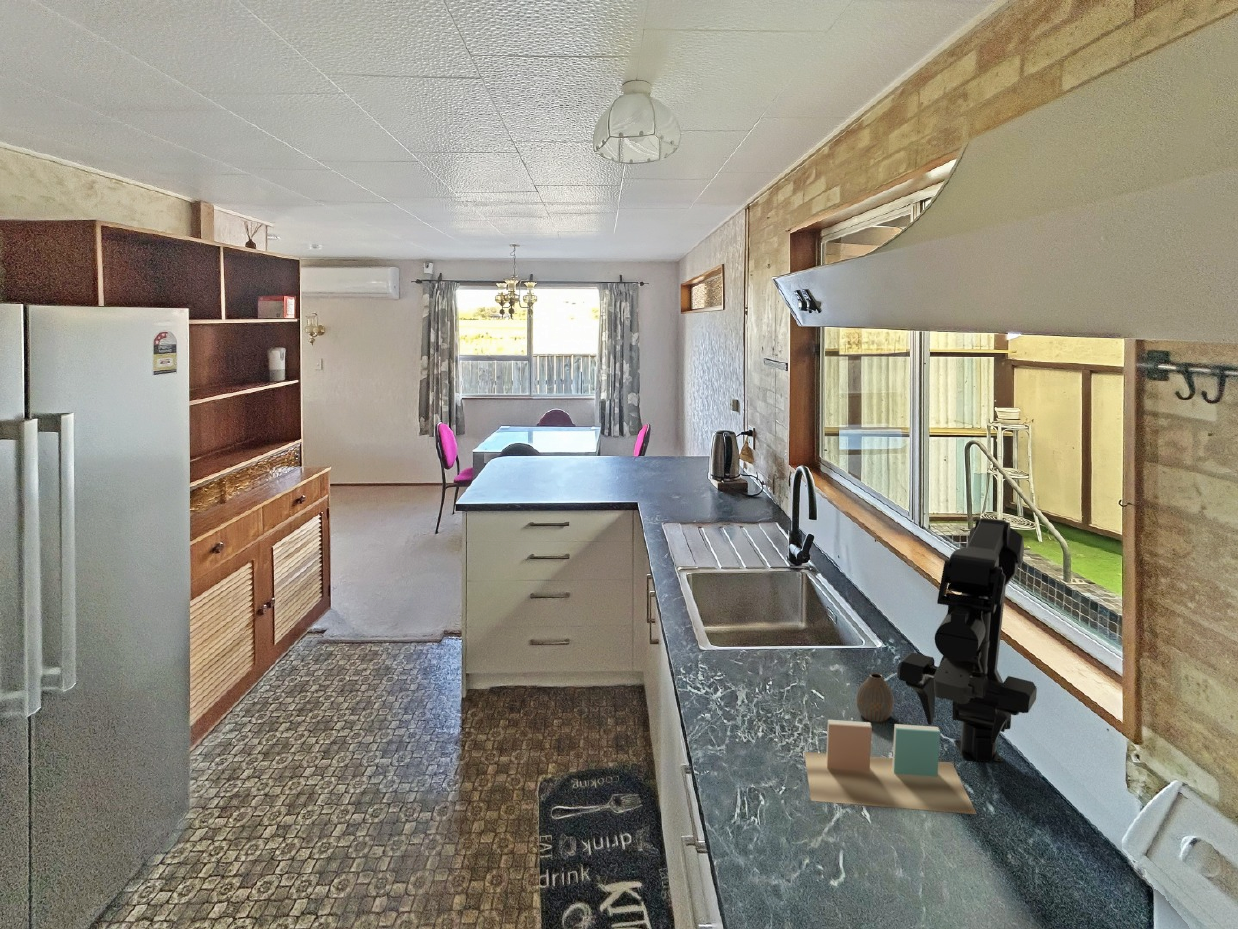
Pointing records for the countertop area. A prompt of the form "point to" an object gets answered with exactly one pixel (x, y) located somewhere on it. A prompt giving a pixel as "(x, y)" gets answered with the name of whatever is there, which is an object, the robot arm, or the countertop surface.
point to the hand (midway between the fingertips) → (961, 733)
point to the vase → (875, 699)
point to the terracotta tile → (848, 745)
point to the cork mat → (887, 786)
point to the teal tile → (916, 750)
